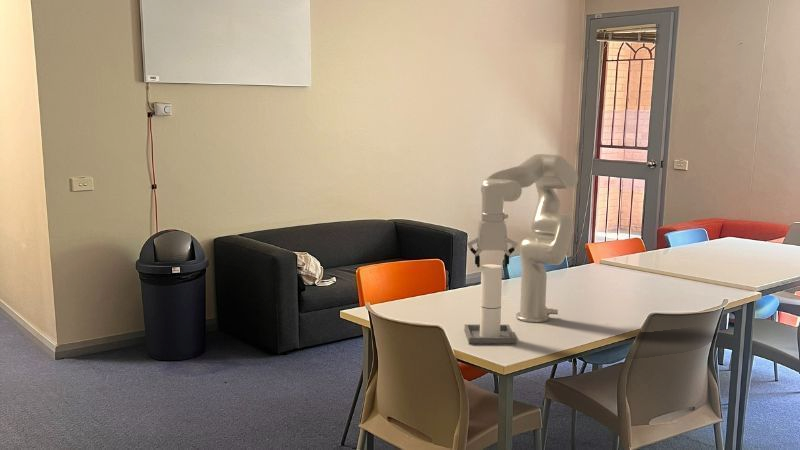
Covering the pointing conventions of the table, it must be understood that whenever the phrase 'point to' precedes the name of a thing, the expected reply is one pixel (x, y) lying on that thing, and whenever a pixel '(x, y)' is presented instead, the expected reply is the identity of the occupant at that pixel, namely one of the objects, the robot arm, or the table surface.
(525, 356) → the table surface
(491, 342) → the desk tray
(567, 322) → the table surface
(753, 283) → the table surface
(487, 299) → the cylindrical container
